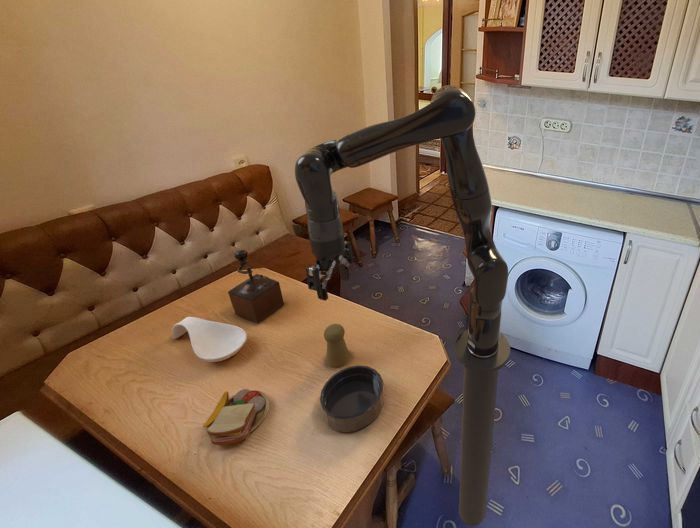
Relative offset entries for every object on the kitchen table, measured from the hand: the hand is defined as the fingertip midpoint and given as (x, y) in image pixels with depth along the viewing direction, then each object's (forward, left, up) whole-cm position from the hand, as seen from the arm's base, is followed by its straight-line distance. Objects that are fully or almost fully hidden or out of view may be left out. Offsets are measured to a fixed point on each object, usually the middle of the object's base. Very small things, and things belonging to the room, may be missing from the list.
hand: (334, 288), depth 90 cm
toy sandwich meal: (+25, -9, -23) cm, 35 cm away
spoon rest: (+14, -37, -23) cm, 46 cm away
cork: (+2, -1, -23) cm, 23 cm away
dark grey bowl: (+11, +12, -23) cm, 28 cm away
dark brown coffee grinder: (-3, -40, -23) cm, 46 cm away
